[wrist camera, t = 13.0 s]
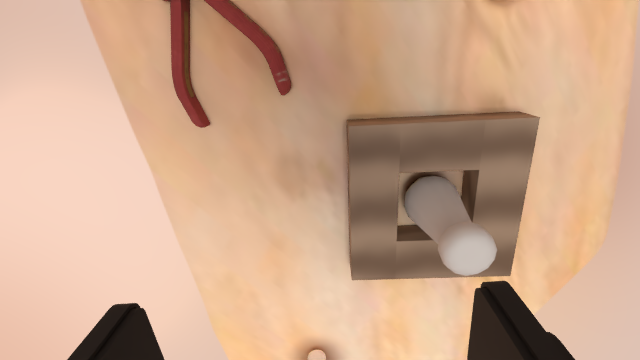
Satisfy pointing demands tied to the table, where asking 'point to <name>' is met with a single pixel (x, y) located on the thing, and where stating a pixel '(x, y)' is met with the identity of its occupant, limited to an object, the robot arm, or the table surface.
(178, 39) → the pliers
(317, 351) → the lightbulb
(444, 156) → the walnut stand
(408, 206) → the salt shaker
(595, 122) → the table surface
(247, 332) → the table surface
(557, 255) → the table surface
